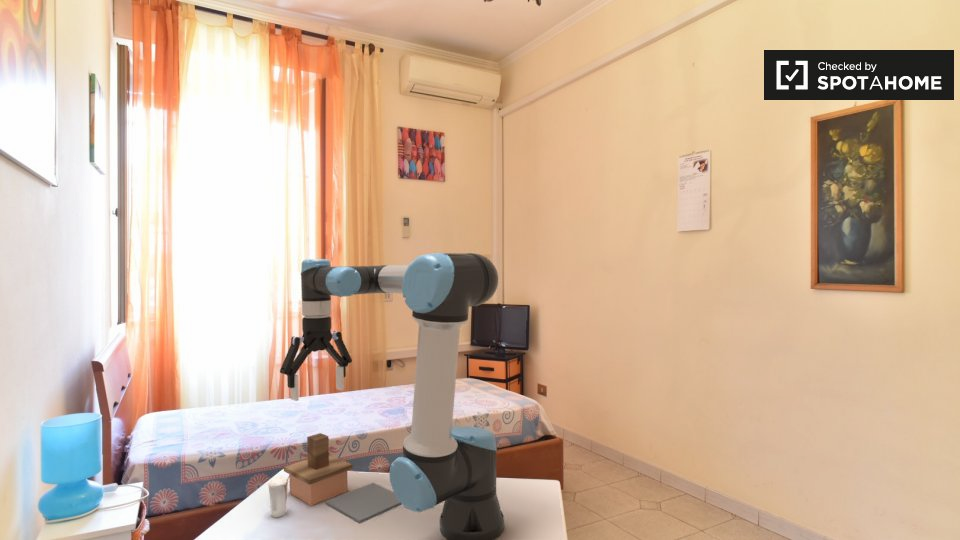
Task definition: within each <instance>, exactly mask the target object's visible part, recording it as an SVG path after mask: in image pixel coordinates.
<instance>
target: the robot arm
mask: <svg viewBox="0 0 960 540" xmlns="http://www.w3.org/2000/svg"><path fill="white" fill-rule="evenodd" d="M300 281H301V283H300V284H301V285H300V286H301V315H302V316H303V317H302V318H301V324H302V326H301V327H302V328H301V330H302V336H295V335H294V336H291V338H290V346H289V348H288V351H287V353H286V355H285V357H284V360H283V362H282V365H281V367H280V370H279V373H280V374H282V375H286V376H287V381H286V382H287V387H288V389H289V388H290V400H292V401H296V402H297V401H299V400H300V397H299V396H300V395H299V393H300V392H299V375H298V374H297V373H298V371H299V370H300V368H301V366H302V365H303V363H304V362H305V361H306V359H307V357H308V356H309V355H310V354H311V353H312V352H313V353H314V352H315V353H316V352H318V351H326V352H327V353H328V354H329V356H330V357H331V358H332V359H333V360H334V361H335V362H336V363H337V364H338V365H336V366H335V390H338V391H341V392H342V391H344V390H345V386H344V385H345V382H344V380H345V379H344V378H346V375H347V373H346V372H347V371H346V367H348V365H349V364H351V363H352V361H353V359H352V356H351V355H350V352H349V351H348V348H347V347H346V345H345V343H344V341H343V335H342V331H338V330H334V331H333V332H331V330H332V317H331V314H332V296H335V297H339V298H343V297H351V296H354V295H355V296H356V295H365V294H367V295H368V294H402V297H403V298H404V303H405V304H406V306H407V307H408V308H409V309H410V310H411V311H412V313H411V316H412V318H413V320H414V321H415V322H416V323H417V324H418V331H417V334H418V336H417V345H416V346H417V347H416V360H415V361H416V362H415V372H414V373H415V375H414V389H413V390H414V391H413V403H412V415H411V416H412V420H411V432H410V434H409V435H407V436H406V437H405V438H404V440H403V441H402V442H403V443H402V455H401V456H399V457H397V458H395V459H394V461H393V462H392V463H391V464H390V467H389V482H390V486H391V489H392V490H393V491H392V492H394V493H395V495H396V497H397V499H398V500H399V501H400V503H401V506H403V507H404V508H406V509H407V510H409V511H411V512H414V513H421V512H423V511H427V510H428V509H434V508H435V507H436V506H438V505H439V504H442V503H443V502H444V503H443V507H442V512H441V514H440V517H439V531H440V533H441V535H442V536H443V537H444V538H446V539H448V540H496V539H497V538H498V537H500V536H501V534H502V533H503V532H504V530H505V517H504V516H505V515H504V513H503V511H502V510H501V506H500V505H501V504H500V501H499V499H498V498H499V497H498V495H497V450H498V448H497V443H496V436H495V434H494V433H493V431H490V430H488V429H486V428H482V427H478V426H477V427H476V426H471V425H470V426H467V425H465V426H464V425H461V426H453V419H454V407H455V406H454V405H455V394H456V384H457V383H456V381H457V369H458V356H459V344H460V343H459V342H460V332H461V328H462V327H463V325H465V324H466V323H467V322H468V320H469V313H470V311H469V310H470V307H476V306H480V305H483V304H485V303H487V302H488V301H490V299H491V298H492V297H493V296H494V295H495V294H496V291H497V289H498V286H499V285H498V284H499V273H498V270H497V268H496V265H495V264H494V263H493V262H492V261H491V260H490V259H489V258H487V257H486V256H484V255H482V254H478V253H473V252H472V253H471V252H469V253H456V252H453V253H452V252H449V253H448V252H447V253H446V252H434V253H426V254H422V255H419V256H417V257H416V258H415V259H413V261H412V262H410V263H409V264H391V265H388V264H387V265H386V264H385V265H384V264H383V265H382V264H381V265H359V266H357V265H356V266H355V265H353V266H351V265H350V266H349V265H348V266H339V265H338V266H331V261H330V259H327V258H325V259H324V258H320V259H319V258H318V259H312V258H311V259H308V258H307V259H304V260H302V261H301V271H300ZM332 340H333V342H334V344H335V346H336V348H337V350H338V351H337V350H336V349H335V347H334V346H333V345H332V343H331V341H332ZM302 344H303V345H302ZM300 345H302V347H301V348H300ZM299 349H300V351H299ZM298 351H299V353H298ZM297 353H298V354H297Z"/></svg>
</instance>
